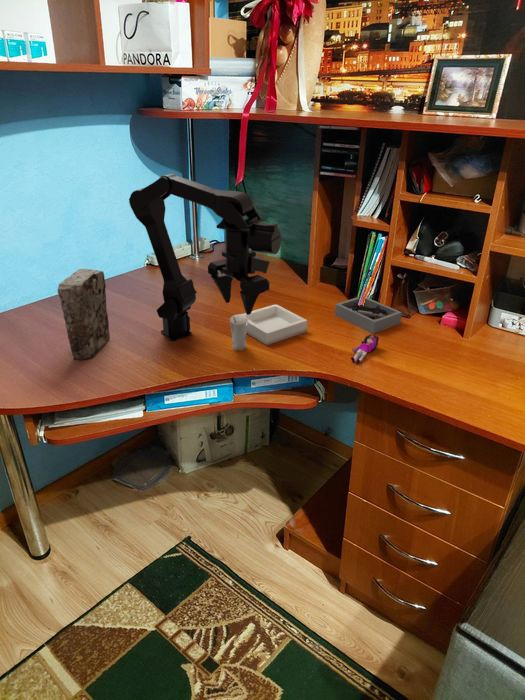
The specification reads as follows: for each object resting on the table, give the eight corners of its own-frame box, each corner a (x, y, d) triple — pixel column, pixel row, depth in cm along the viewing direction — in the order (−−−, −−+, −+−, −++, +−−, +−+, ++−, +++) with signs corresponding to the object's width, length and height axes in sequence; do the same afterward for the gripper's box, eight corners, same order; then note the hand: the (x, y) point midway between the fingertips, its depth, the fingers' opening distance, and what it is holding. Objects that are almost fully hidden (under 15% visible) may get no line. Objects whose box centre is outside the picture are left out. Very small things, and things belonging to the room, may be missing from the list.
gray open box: (373, 333, 148) (374, 322, 146) (334, 315, 158) (335, 304, 157) (400, 323, 154) (402, 312, 152) (361, 306, 164) (362, 295, 163)
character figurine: (364, 370, 132) (382, 346, 140) (365, 353, 129) (383, 329, 138) (343, 364, 135) (362, 341, 143) (343, 348, 132) (362, 325, 140)
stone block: (88, 336, 144) (77, 266, 135) (113, 338, 144) (104, 267, 134) (68, 360, 132) (54, 285, 123) (96, 362, 132) (84, 286, 123)
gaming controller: (348, 321, 159) (346, 312, 152) (351, 307, 160) (349, 298, 154) (384, 326, 156) (383, 317, 149) (387, 312, 157) (386, 303, 150)
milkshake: (226, 351, 138) (225, 316, 133) (234, 342, 142) (233, 308, 137) (242, 354, 136) (242, 318, 131) (250, 345, 141) (250, 310, 136)
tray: (266, 345, 141) (266, 333, 139) (236, 326, 151) (236, 315, 149) (306, 331, 148) (307, 320, 147) (275, 314, 158) (275, 304, 156)
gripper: (288, 252, 124) (286, 313, 132) (242, 233, 137) (242, 290, 145) (249, 260, 118) (249, 324, 126) (205, 240, 131) (207, 299, 139)
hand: (237, 308), depth 134 cm, fingers open, 9 cm apart
